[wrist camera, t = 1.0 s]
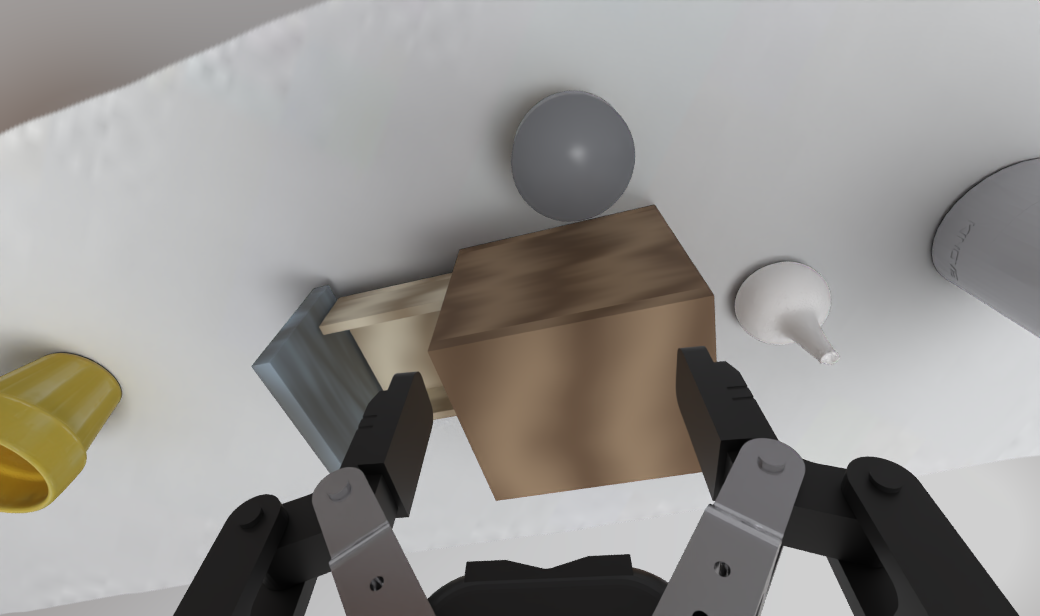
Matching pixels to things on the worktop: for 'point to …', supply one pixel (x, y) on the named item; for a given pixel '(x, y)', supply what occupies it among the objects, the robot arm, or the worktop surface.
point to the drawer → (352, 359)
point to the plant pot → (49, 426)
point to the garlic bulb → (787, 308)
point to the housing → (573, 353)
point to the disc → (572, 156)
